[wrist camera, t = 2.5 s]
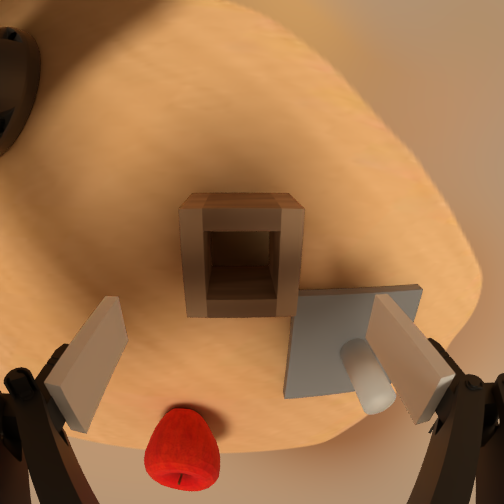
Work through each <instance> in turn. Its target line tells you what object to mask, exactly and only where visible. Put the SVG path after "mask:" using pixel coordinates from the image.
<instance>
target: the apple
mask: <svg viewBox="0 0 504 504" xmlns="http://www.w3.org/2000/svg"><path fill="white" fill-rule="evenodd" d="M144 464H145V468H146V471H147V473H148V474H149V475H150V477H152V479H153V480H155V481H157V482H158V483H160V484H161V485H164V486H167V487H170V488H174V489H178V490H184V491H201V490H203V489H206V488H209V487H210V486H211V485H213V484H214V483H215V482H216V480H217V479H218V477H219V471H220V454H219V449H218V446H217V442H216V440H215V438H214V436H213V434H212V432H211V430H210V428H209V426H208V424H207V423H206V422H205V420H204V419H203V418H202V416H200V415H199V414H198V413H197V412H195V411H193V410H191V409H183V408H174V409H172V410H171V411H169V412H168V413H166V414H165V416H164V417H163V418H162V419H161V420H160V422H159V423H158V425H157V426H156V428H155V430H154V432H153V434H152V436H151V438H150V441H149V443H148V446H147V448H146V451H145V457H144Z"/></svg>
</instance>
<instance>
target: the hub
mask: <svg viewBox="0 0 504 504" xmlns="http://www.w3.org/2000/svg"><path fill="white" fill-rule="evenodd" d="M304 215H305V209H304V208H303V207H302V206H301V205H300V204H299V203H298V202H297V201H296V200H295V199H294V198H293V197H292V196H291V195H290V194H289V193H192V194H191V195H190V196H189V197H188V199H187V200H186V201H185V202H184V203H183V204H182V206H181V207H180V208H179V225H180V241H181V256H182V268H183V280H184V291H185V301H186V311H187V317H198V318H248V317H288V316H296V312H297V302H298V292H299V281H300V269H301V257H302V244H303V231H304ZM211 231H270V237H269V264H268V266H212V251H211Z"/></svg>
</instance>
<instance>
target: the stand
mask: <svg viewBox="0 0 504 504" xmlns="http://www.w3.org/2000/svg"><path fill="white" fill-rule="evenodd" d="M422 291H423V289H422V288H421V287H420V286H419V285H418V284H416V285H401V286H384V287H365V288H343V289H317V290H299V292H298V302H297V312H296V316H292V317H291V327H290V337H289V346H288V355H287V364H286V372H285V381H284V389H283V394H284V399H291V398H303V397H314V396H323V395H331V394H339V393H346V392H353V391H355V392H356V394H357V396H358V398H359V401H360V403H361V405H362V408H363V410H364V412H365V413H366V414H377V413H380V412H382V411H384V410H386V409H387V408H388V407H389V406H391V405H392V404H393V402H394V401H395V399H396V394H395V392H394V390H393V388H392V386H391V385H390V384H391V380H390V379H389V377H388V375H387V373H386V372H385V370H384V368H383V367H382V365H381V363H380V361H379V360H378V358H377V356H376V355H375V353H374V351H373V350H372V348H371V346H370V345H369V343H368V341H367V340H366V338H365V337H366V333H367V329H368V325H369V321H370V316H371V312H372V308H373V303H374V298H375V295H376V294H388V295H389V296H390V297H391V298H392V299H393V300H394V301H395V302H396V304H397V305H398V306H399V307H400V308H401V309H402V310H403V311H404V313H405V314H406V315H407V316H408V317H409V318H410V319H411V321H412V322H414V319H415V316H416V312H417V309H418V306H419V302H420V299H421V295H422Z"/></svg>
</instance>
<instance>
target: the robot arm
mask: <svg viewBox="0 0 504 504" xmlns="http://www.w3.org/2000/svg"><path fill="white" fill-rule="evenodd" d="M39 76H40V54H39V49H38V46H37V43H36V41H35V40H34V38H33V37H32V36H31V35H30V34H29V33H27V32H25V31H22V30H20V29H17V28H14V27H0V156H1V155H2V154H3V153H4V152H6V151H7V150H8V149H9V147H10V146H11V145H12V144H13V143H14V141H15V140H16V138H17V137H18V135H19V134H20V132H21V130H22V129H23V127H24V125H25V123H26V121H27V119H28V116H29V114H30V111H31V109H32V106H33V103H34V100H35V96H36V92H37V88H38V83H39ZM365 338H366V340H367V341H368V343H369V345H370V346H371V348H372V350H373V351H374V353H375V355H376V356H377V358H378V360H379V361H380V363H381V365H382V367H383V368H384V370H385V372H386V373H387V375H388V377H389V379H390V380H391V382H392V384H393V386H394V387H395V389H396V391H397V393H398V394H399V396H400V398H401V400H402V402H403V403H404V405H405V407H406V409H407V410H408V413H409V414H410V416H411V418H412V420H413V422H414V424H415V425H417V424H420V423H423V422H426V421H429V420H430V419H431V417H432V415H433V414H434V412H436V413H437V415H438V418H437V420H436V421H435V423H434V424H433V426H432V428H431V429H430V431H429V433H431V432H432V430H433V432H432V436H431V439H430V443H429V446H428V449H427V453H426V455H425V458H424V461H423V464H422V467H421V470H420V472H419V475H418V478H417V480H416V483H415V485H414V488H413V490H412V493H411V495H410V498H409V500H408V502H407V504H469V501H470V497H471V493H472V489H473V485H474V480H475V476H476V504H504V373H502V374H500V375H499V376H498V377H497V379H496V381H495V383H484V382H483V381H482V380H481V379H480V378H479V377H477V376H475V375H471V374H467V375H465V374H464V373H463V372H462V370H461V369H460V368H459V366H458V365H457V364H456V363H455V361H454V360H453V359H452V358H451V357H449V354H448V353H447V352H445V350H444V348H443V347H442V346H441V345H440V344H439V343H438V342H436V341H435V340H433V339H432V338H428V339H427V338H426V337H425V336H424V335H423V333H422V332H421V331H420V330H419V329H418V328H417V326H416V325H415V324H414V323H413V322H412V321H411V319H410V318H409V317H408V316H407V315H406V314H405V313H404V311H403V310H402V309H401V308H400V307H399V306H398V305H397V304H396V302H395V301H394V300H393V299H392V298H391V297H390V296H389V295H388V294H376V295H375V298H374V303H373V308H372V312H371V316H370V321H369V325H368V329H367V333H366V337H365ZM127 342H128V337H127V332H126V328H125V324H124V320H123V315H122V310H121V306H120V301H119V296H105V297H104V298H103V300H102V301H101V302H100V304H99V305H98V306H97V308H96V309H95V310H94V312H93V313H92V314H91V315H90V317H89V318H88V319H87V321H86V322H85V324H84V325H83V326H82V328H81V329H80V330H79V332H78V333H77V335H76V336H75V337H74V339H73V340H72V341H71V343H70V344H63V345H62V346H60V347H59V348H58V349H56V350H55V352H54V353H53V355H52V356H51V358H50V359H49V360H48V362H47V364H45V366H44V367H43V369H42V370H41V372H40V373H39V375H38V376H37V377H36V379H35V380H34V378H33V376H32V374H31V372H30V370H28V369H27V368H22V367H21V368H15V369H13V370H11V371H10V372H9V373H8V374H7V375H6V376H5V378H4V384H5V386H6V388H7V390H8V391H9V393H10V394H4V393H1V391H0V504H31V498H30V488H29V474H28V469H29V473H30V476H31V479H32V482H33V485H34V488H35V491H36V494H37V496H38V499H39V502H40V504H99V502H98V500H97V498H96V497H95V495H94V493H93V491H92V490H91V487H90V486H89V484H88V482H87V480H86V478H85V476H84V474H83V472H82V469H81V468H80V465H79V463H78V461H77V459H76V457H75V454H74V452H73V449H72V447H71V445H70V442H69V440H68V437H67V435H66V432H65V431H64V429H63V426H64V423H65V421H66V422H67V424H68V426H69V427H70V429H71V430H74V431H78V432H82V433H86V434H87V431H88V429H89V427H90V424H91V422H92V419H93V417H94V415H95V412H96V410H97V407H98V405H99V403H100V401H101V398H102V396H103V394H104V391H105V389H106V387H107V385H108V383H109V380H110V378H111V376H112V374H113V372H114V369H115V367H116V365H117V363H118V361H119V359H120V357H121V355H122V353H123V350H124V348H125V346H126V344H127ZM498 419H500V423H499V424H498Z"/></svg>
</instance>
